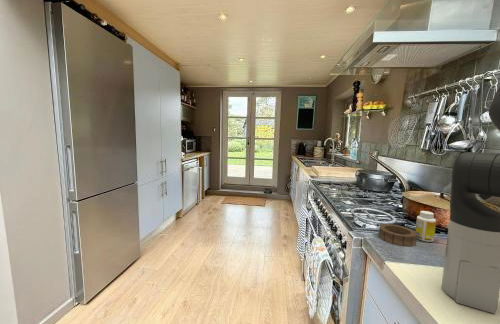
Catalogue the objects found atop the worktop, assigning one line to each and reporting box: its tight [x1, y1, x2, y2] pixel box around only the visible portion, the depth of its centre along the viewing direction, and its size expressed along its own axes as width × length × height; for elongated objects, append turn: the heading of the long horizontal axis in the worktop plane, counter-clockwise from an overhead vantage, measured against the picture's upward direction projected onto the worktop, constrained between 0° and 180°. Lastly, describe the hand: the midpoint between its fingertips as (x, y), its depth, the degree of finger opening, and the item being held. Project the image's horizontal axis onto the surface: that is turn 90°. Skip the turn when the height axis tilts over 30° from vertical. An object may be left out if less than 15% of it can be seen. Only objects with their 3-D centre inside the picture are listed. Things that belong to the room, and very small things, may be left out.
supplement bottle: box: [415, 210, 437, 243], centre depth 82 cm, size 6×6×10 cm
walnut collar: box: [378, 223, 417, 247], centre depth 81 cm, size 11×11×4 cm
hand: (474, 195), depth 75 cm, fingers open, 8 cm apart
